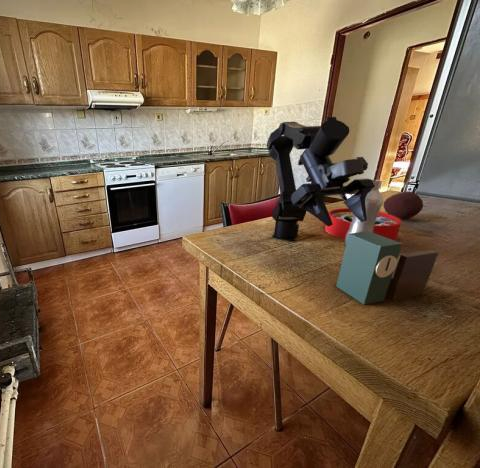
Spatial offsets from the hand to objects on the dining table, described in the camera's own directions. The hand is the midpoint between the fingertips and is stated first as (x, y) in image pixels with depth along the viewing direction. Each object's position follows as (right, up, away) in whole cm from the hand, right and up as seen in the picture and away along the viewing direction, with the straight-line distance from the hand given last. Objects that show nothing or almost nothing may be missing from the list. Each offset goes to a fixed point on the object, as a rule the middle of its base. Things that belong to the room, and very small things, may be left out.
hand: (347, 223), depth 58 cm
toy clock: (+25, -2, +30) cm, 39 cm away
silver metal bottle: (+16, -7, +19) cm, 26 cm away
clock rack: (+9, -14, +1) cm, 16 cm away
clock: (+1, -15, -2) cm, 16 cm away
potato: (+49, +3, +42) cm, 65 cm away
